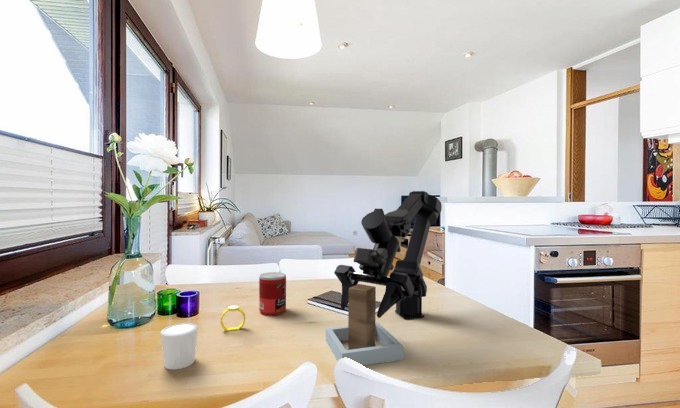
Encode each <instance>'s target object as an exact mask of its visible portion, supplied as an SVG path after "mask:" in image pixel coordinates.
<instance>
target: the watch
mask: <svg viewBox="0 0 680 408" xmlns="http://www.w3.org/2000/svg"><path fill="white" fill-rule="evenodd" d="M237 311H238V312H240V313H241V315H242V317H243V320H242V322H241V324H239V326H237V327H236V326H235V327H234V326H233V327H227V326H226V325H225V324H224V322H223V318H224V316H225V314H226V313H229V312H237ZM245 322H246V313H245V312H244V311H243V309H242V308H240V306H239V305H233V304H232V305H229V306H228V307H227V309H225V310H223V312H222V314H221V316H220V325H221V327H222V329H224V330H225V331H226V332H229V331H230V332H231V331H239V330H241V329H242V327H243V326H244V324H246V323H245Z"/></svg>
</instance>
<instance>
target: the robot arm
mask: <svg viewBox="0 0 680 408" xmlns="http://www.w3.org/2000/svg"><path fill="white" fill-rule="evenodd" d="M442 206H443V205H442V202H441V200H440V199H439V198H438V197H436V196H434V195H433V194H432V195H431V194H429V193H428V191H425V190H413V191H410V192H409V194H408V196H407V198H406V199H405V200H404V201H403V202H402V203H401V204H400V205H399V207H398V208H396V209H395V210H393V211H390V212H387V213H386V214H385V211H384V210H383V208H374V210H373V211H371V212H369V213H367V214H365V215H364V216H363V217H362V218H361V226H362V228H363V230H364V232H365V233H366V235H367V237H368V239H369V240H370V242H371V243H373V244H374V246H373V247H372V248H365V247H364V248H363V247H362V248H361V247H356V249H355V253H354V257H353V262H354V263H357V264H358V268H359V270H360V271H362V273H361V272H357V271H356V270H355V268H354V266H352V265H348V264H347V265H345V264H340V265H339V264H338V265H337V266H336V268H335V270H334V272H333V273H334V275H335V277H336V278H337V279H338V280H339V282H340V283H341V299H340V309H341V310H345V308H347V306H349V288H350V287H352V286H355V285H357V284H359V283H360V282H361V283H367V284H372V285H378V286H385V292H384V294H383V296H382V299H381V302H380V304H379V307H378V308H377V312H376V317H377V318H379V319H380V318H382V317H383V316H384V315H385V314H386V313H387V312H388V311H389V310H390V309H391V308H392V307H394V306H395V310H394V312H395V313H396V314H397V315H398V316H399V317H401V318H403V320H410V319H411V320H412V319H419V318H425V314H424V313H423V312H422V309H423V308H422V307H423V306H422V305H423V304H422V303H423V301H422V300H423V297H424V298H425V297H427V292H428V290H427V289H428V286H427V284H426V281H425V280H424V273H423V270H422V267H421V261H422V258H423V256H424V255H423V254H424V250H425V246H426V244H427V239H428V235H429V231H430V228H431V225H432V224H434V223H435V222H436V221H437V220H438V219H439V216H440V213H441V212H442V210H443V209H442ZM414 218H415V221H414V224H413V228H412V225H411V224H412V223H411V221H412V220H414ZM411 229H412V232H411ZM410 232H411V234H410V238H409V241H408V244H407V248H406V252H405V255H404V257H403V259H401V260H399V259H397V260H396V262H395V266H394V264H393V263H394V260H395V258H396V254H397V253H401V252H402V251H401V246H400V241H399V239H398V238H400V239H402V238H406V237H407V236H408V235H409V233H410ZM390 271H392V272H390ZM388 276H389V277H388Z"/></svg>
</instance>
